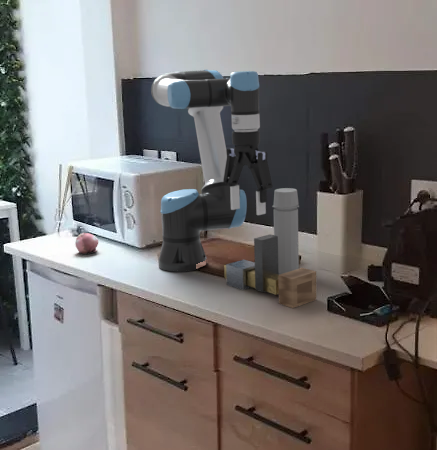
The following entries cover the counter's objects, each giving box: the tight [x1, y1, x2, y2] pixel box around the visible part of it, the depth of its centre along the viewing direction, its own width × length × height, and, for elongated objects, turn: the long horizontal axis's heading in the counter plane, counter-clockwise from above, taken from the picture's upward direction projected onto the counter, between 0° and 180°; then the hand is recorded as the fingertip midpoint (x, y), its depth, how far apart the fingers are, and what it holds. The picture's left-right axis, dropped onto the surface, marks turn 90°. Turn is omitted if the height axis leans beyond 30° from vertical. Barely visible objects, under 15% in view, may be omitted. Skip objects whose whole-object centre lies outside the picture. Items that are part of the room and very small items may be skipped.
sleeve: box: [225, 259, 255, 291], centre depth 204 cm, size 7×7×6 cm
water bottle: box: [271, 187, 300, 275], centre depth 212 cm, size 9×8×25 cm
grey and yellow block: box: [223, 233, 279, 296], centre depth 199 cm, size 21×6×14 cm, turn 40°
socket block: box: [278, 267, 318, 309], centre depth 188 cm, size 5×9×8 cm, turn 130°
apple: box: [74, 232, 99, 255], centre depth 244 cm, size 8×8×7 cm
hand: (248, 211), depth 198 cm, fingers open, 10 cm apart
